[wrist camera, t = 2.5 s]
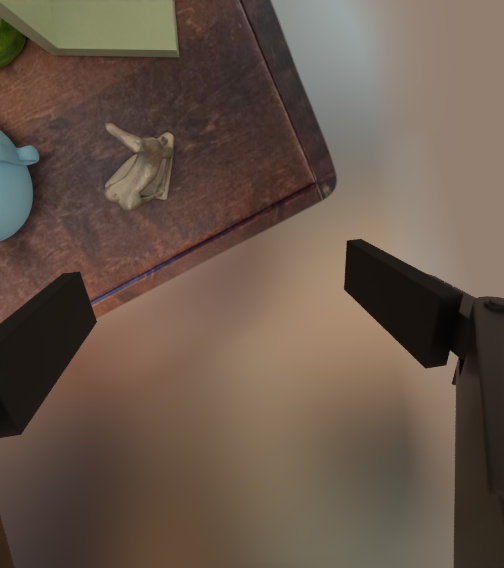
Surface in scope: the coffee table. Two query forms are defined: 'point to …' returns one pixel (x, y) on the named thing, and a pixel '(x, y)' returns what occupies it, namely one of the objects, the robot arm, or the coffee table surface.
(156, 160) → the figurine
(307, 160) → the coffee table surface
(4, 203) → the teapot
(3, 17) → the rack
